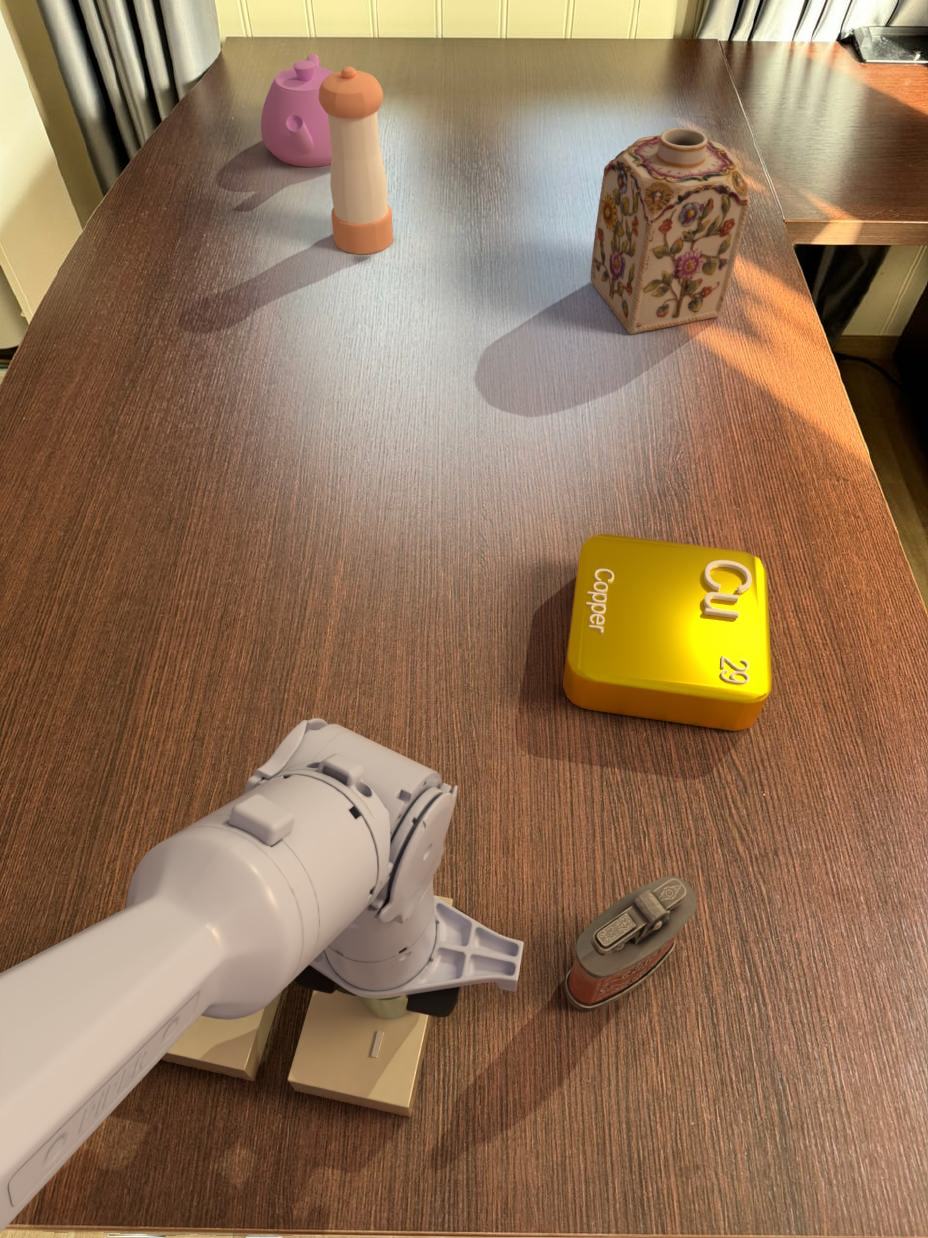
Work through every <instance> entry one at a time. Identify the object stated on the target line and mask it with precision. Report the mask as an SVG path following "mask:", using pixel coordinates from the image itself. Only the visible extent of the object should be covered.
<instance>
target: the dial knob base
mask: <svg viewBox="0 0 928 1238" xmlns="http://www.w3.org/2000/svg"><path fill="white" fill-rule="evenodd" d="M434 896H436V897H437V898H439V899H441V900H442V901H444V902H446V903H447V904H449V905H451V906H452V907H454V899H453V898H451V897H446V896H440V895H435V894H434ZM308 1004H309V1005H308V1008H307V1011H306V1015H305V1017H304V1022H303V1024H302V1028H301V1032H300V1035H299V1038H298V1042H297V1045H296V1049H295V1052H294V1056H293V1060H292V1062H291V1066H290V1069H289V1073H288V1076H287V1081H288V1083H289V1084H290V1086H291V1087H292V1088H293V1089H294V1091H295V1092H299V1093H303V1094H308V1095H312V1096H316V1097H320V1098H326V1099H330V1100H333V1101H338V1102H343V1103H347V1104H352V1105H356V1106H361V1107H364V1108H369V1109H372V1110H373V1109H374V1110H377V1111H380V1112H381V1111H382V1112H386V1113H390V1114H395V1115H399V1116H403V1117H407V1118H411V1117H412V1114H413V1109H414V1104H415V1099H416V1095H417V1090H418V1086H419V1080H420V1076H421V1071H422V1067H423V1062H424V1057H425V1052H426V1047H427V1043H428V1038H429V1033H430V1029H431V1028H430V1027H431V1023H432V1019H433V1016H430V1015H425V1014H421V1013H416V1012H412V1011H410V1012H409V1013H407V1014H406V1015H404V1016H402V1017H400V1018H396V1019H383V1018H380V1017H378V1016H376V1015H374V1014H373V1013H371V1012H370V1011H369V1010H368V1009H367V1007H366V1006H365V1004H364V1002H363V999H362V997H361V996H358V995H357V996H353V995H349V994H344V993H341V992H339V991H337V990H336V991H335V992H333V993H332V994H328V993H324V992H319V991H314V990H312V995H311V998H310V1000H309V1003H308Z"/></svg>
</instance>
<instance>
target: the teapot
mask: <svg viewBox="0 0 928 1238" xmlns="http://www.w3.org/2000/svg"><path fill="white" fill-rule="evenodd" d="M292 66H293V67H289V68H286V69H284V70H281V72H279V73H278V74H277V75H276V76H275V77H274V79H273V81H272V83H271V85H270V87H269V90H268V92H267V95H266V97H265V100H264V103H263V107H262V111H261V117H260V132H261V133H260V134H261V140H262V142H263V144H264V146H265V147H266V149H267V150H268V151H269V152H270V153H271V154H272V155H274V156H275V157H276V158H277V159H278V160H280V162H283V163H285V164H287V165H291V166H294V167H295V166H296V167H303V168H305V167H306V168H317V167H325V166H331V155H332V150H331V140H330V131H329V121H328V113H326V112H325V111H324V109H323V108H322V106H321V104H320V102H319V99H318V98H319V89H320V86H321V84H322V82H323V80H324V79H325V78H326V77H328V76H330V75H331V74H334V73H335V72H334V71H332V70H331V69H329V68H327V67H322V66H321V61H320V57H319V56H318V55H317V54H315V53H311V54H309V55H308V56H307V57H306V59H305V60H303V59H302V60H298V61H296V62H294V63H293V64H292Z"/></svg>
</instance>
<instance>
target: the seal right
mask: <svg viewBox="0 0 928 1238" xmlns="http://www.w3.org/2000/svg"><path fill="white" fill-rule="evenodd" d="M408 997H409V995H403V996H397V997H390V998H382V999H373V998H365V997H362V999H363V1002H364V1004H365V1006H366V1007H367V1009H368V1010H369V1011H370V1012H371V1013H373V1014H374V1015H376V1016H378V1017H380V1018H383V1019H396V1018H400V1017H402V1016H404V1015H406V1014H407V1013H409V1012H410V1011H407V1010H406V1006H407V1001H408Z"/></svg>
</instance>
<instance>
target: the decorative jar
mask: <svg viewBox="0 0 928 1238" xmlns="http://www.w3.org/2000/svg"><path fill="white" fill-rule="evenodd" d="M741 163H742V162H741V161H740V160H739V159H738V158H737V157H736V156H735V155H734V154H733V153H732V152H731V150H729V149H728V148H727V147H725V146H724V145H723V144H721V143H719V142H717V141H713V140H709V139H708V137H707V136H706V135H705V134H704V133H703V132H701V131H699V130H696V129H693V128H687V127H672V128H668V129H665V130H663V132H661V133H660V135H659V134H658V135H651V136H645V137H644V136H643V137H640V138H639V139H636V140H635V141H634V142H633V143H632V144H631V145H629V146H627V148H626V149H624V150H622V151H620V152H619V153H618V154H617V155H616V156H615V157H614V159H612V160H610V161H608V163H607V164H606V165H605V166H604V168H603V175H602V180H601V187H600V195H599V201H598V202H599V203H598V209H597V216H596V222H595V230H594V237H593V247H592V257H591V265H590V277H589V278H590V282H591V284H592V285H593V287H595V289H596V290H597V292H598V293H599V294H600V296H601V297H602V299H603V300H604V301H605V303H606V304H607V305H608V307H609V308H610V310H611V311H612V312H613V314H614V315H615V316H616V317H617V319H618V320H619V321H620V323H621V325H622V326H623V327H624V328H625V330H626V331H627V332H628V333H629V334H630V335H634V334H640V333H643V332H650V331H655V330H660V329H666V328H671V327H677V326H680V325H686V324H690V323H694V322H700V321H704V320H709V319H715V318H718V317H719V316H720V315H721V314H722V311H723V309H724V306H725V302H726V298H727V296H728V292H729V288H730V285H731V281H732V278H733V272H734V269H735V264H736V260H737V256H738V253H739V250H740V249H739V248H740V246H741V242H742V237H743V234H744V229H745V226H746V221H747V217H748V213H749V209H750V203H751V196H750V194H749V188H748V184H747V183H748V182H747V181H746V179H745V175H744V172H743V171H744V170H743V167H742V164H741Z"/></svg>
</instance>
